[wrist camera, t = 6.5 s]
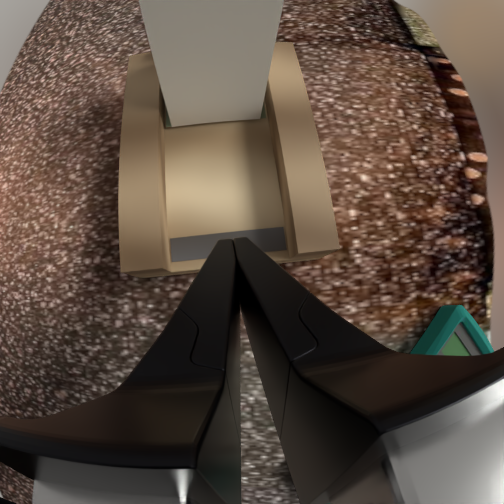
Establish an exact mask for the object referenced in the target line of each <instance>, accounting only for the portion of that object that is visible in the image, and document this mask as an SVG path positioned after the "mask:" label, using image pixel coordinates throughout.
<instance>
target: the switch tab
mask: <svg viewBox="0 0 504 504" xmlns="http://www.w3.org/2000/svg"><path fill="white" fill-rule="evenodd" d="M283 2H284V0H139V3H140V7H141V12H142V16H143V20H144V24H145V28H146V32H147V36H148V40H149V44H150V48H151V52H152V56H153V60H154V63H155V67H156V71H157V75H158V78H159V82H160V86H161V90H162V93H163V97H164V100H165V104H166V108H167V111H168V115H169V118H170V122H171V125H172V127H176V126H184V125H192V124H202V123H212V122H223V121H236V120H251V119H260V117H261V112H262V107H263V102H264V96H265V91H266V86H267V81H268V76H269V71H270V66H271V61H272V56H273V51H274V46H275V41H276V36H277V31H278V26H279V22H280V17H281V12H282V7H283Z"/></svg>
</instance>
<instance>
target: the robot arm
mask: <svg viewBox="0 0 504 504" xmlns="http://www.w3.org/2000/svg"><path fill="white" fill-rule="evenodd" d="M240 308H241V313H242V317H243V320H244V324H245V327H246V330H247V334H248V337H249V341H250V344H251V348H252V351H253V354H254V358H255V361H256V365H257V368H258V371H259V375H260V378H261V381H262V385H263V388H264V391H265V394H266V398H267V401H268V404H269V408H270V411H271V414H272V417H273V420H274V424H275V427H276V430H277V433H278V436H279V439H280V443H281V446H282V449H283V452H284V455H285V458H286V461H287V465H288V468H289V471H290V474H291V477H292V480H293V483H294V486H295V489H296V492H297V495H298V498H299V501H300V504H328V503H330V504H504V347H503V348H501V349H499V350H497V351H495V352H492V353H488V354H483V355H473V356H452V355H423V354H406V353H400V352H396V351H394V350H391V349H389V348H387V347H385V346H384V345H382V344H380V343H379V342H377V341H376V340H374V339H373V338H371V337H370V336H369V335H367V334H366V333H364V332H363V331H361V330H360V329H358V328H357V327H355V326H354V325H352V324H351V323H349V322H348V321H346V320H345V319H344V318H342V317H341V316H340V315H338V314H337V313H335V312H334V311H333V310H331V309H330V308H329V307H328V306H326V305H325V304H324V303H323V302H322V301H320V300H319V299H318V298H317V297H316V296H314V295H313V294H312V293H310V291H309V290H307V289H306V288H305V287H304V286H303V285H302V284H301V283H299V282H298V281H297V280H296V279H295V278H294V277H292V276H291V275H290V274H289V273H288V272H287V271H286V270H284V269H283V268H282V267H281V266H280V265H279V264H277V263H276V262H275V261H274V260H273V259H272V258H271V257H269V256H268V255H267V254H266V253H265V252H264V251H262V250H261V249H260V248H259V247H258V246H257V245H255V244H254V243H253V242H252V241H251V240H250V239H249V238H247V237H238V238H234V239H233V240H232V239H231V238H228V239H219V240H218V241H217V243H216V244H215V246H214V247H213V249H212V251H211V252H210V254H209V256H208V257H207V259H206V260H205V262H204V264H203V265H202V267H201V269H200V270H199V272H198V274H197V275H196V277H195V279H194V280H193V282H192V284H191V285H190V287H189V289H188V290H187V292H186V294H185V295H184V297H183V299H182V300H181V302H180V304H179V306H178V308H177V309H176V310H175V312H174V314H173V316H172V317H171V319H170V320H169V322H168V324H167V325H166V327H165V328H164V330H163V331H162V333H161V334H160V335H159V337H158V338H157V340H156V341H155V342H154V344H153V345H152V346H151V348H150V349H149V350H148V351H147V353H146V354H145V355H144V357H143V358H142V359H141V360H140V362H139V363H138V364H137V366H136V367H135V368H134V370H133V371H132V372H131V373H130V375H129V376H128V377H127V378H126V380H125V381H124V382H123V383H122V384H121V385H120V386H119V387H118V388H116V389H115V390H114V391H112V392H111V393H109V394H107V395H104V396H102V397H99V398H97V399H94V400H91V401H89V402H86V403H83V404H81V405H78V406H75V407H73V408H70V409H67V410H64V411H62V412H59V413H56V414H53V415H50V416H46V417H42V418H37V419H18V418H13V417H8V416H0V461H1V462H2V463H4V464H5V465H7V466H9V467H10V468H12V469H14V470H16V471H17V472H19V473H21V474H23V475H25V476H26V477H28V478H30V479H32V480H34V486H33V499H32V504H241V447H240V446H241V423H240ZM0 504H16V503H14V502H11V501H8V500H6V499H3V498H1V497H0Z"/></svg>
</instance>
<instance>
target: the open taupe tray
mask: <svg viewBox="0 0 504 504" xmlns="http://www.w3.org/2000/svg"><path fill="white" fill-rule="evenodd" d="M118 213H119V250H120V268H121V273H125V274H128V275H132V276H135V277H139V278H148V277H158V276H168V275H178V274H188V273H197V272H199V270H200V269H201V267H202V265H203V264H204V262H205V260H206V259H207V257H208V256H209V254H210V252H211V251H212V249H213V247H214V246H215V244H216V243H217V241H218V240H219V239H228V238H231V239H232V240H233V239H234V238H238V237H247V238H249V239H250V240H251V241H252V242H253V243H254V244H255V245H257V246H258V247H259V248H260V249H261V250H262V251H264V252H265V253H266V254H267V255H268V256H269V257H271V258H272V259H273V260H274V261H275V262H276V263H277V264H280V263H288V262H297V261H306V260H314V259H320V258H322V257H324V256H326V255H328V254H330V253H332V252H334V251H336V250H338V249H340V246H339V240H338V234H337V228H336V222H335V216H334V211H333V205H332V200H331V195H330V190H329V185H328V180H327V175H326V170H325V165H324V161H323V156H322V151H321V147H320V143H319V138H318V134H317V130H316V126H315V122H314V118H313V114H312V110H311V106H310V102H309V98H308V94H307V91H306V87H305V83H304V80H303V76H302V73H301V69H300V66H299V62H298V59H297V56H296V52H295V49H294V46H293V43H289V42H275V46H274V51H273V56H272V61H271V66H270V71H269V76H268V81H267V86H266V91H265V96H264V102H263V107H262V112H261V117H260V119H251V120H236V121H223V122H212V123H202V124H192V125H184V126H176V127H172V125H171V122H170V118H169V115H168V111H167V108H166V104H165V100H164V97H163V93H162V90H161V86H160V82H159V78H158V75H157V71H156V67H155V63H154V60H153V56H152V52H148V53H142V54H137V55H132V56H130V57H129V64H128V71H127V78H126V86H125V94H124V104H123V114H122V125H121V139H120V157H119V194H118Z"/></svg>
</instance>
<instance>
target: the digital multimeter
mask: <svg viewBox="0 0 504 504" xmlns="http://www.w3.org/2000/svg"><path fill="white" fill-rule="evenodd" d="M492 352H494V350H493V348H492V346H491V344H490V342H489V341H488V339H487V337H486V336H485V334H484V333H483V331H482V329H481V328H480V327H479V325H478V324H477V323H476V321H475V320H474V319H473V318H472V316H471V315H470V314H469V313H468V312H467V310H466V309H465V308H464V307H463V306H462V305H445V306H442V307H441V308H440V309H439V311H438V312H437V314H436V316H435V317H434V319H433V320H432V322H431V323H430V325H429V326H428V328H427V329H426V331H425V332H424V334H423V335H422V337H421V338H420V340H419V341H418V343H417V344H416V345H415V347H414V348H413V350H412V351H411V352H410V354H423V355H452V356H473V355H483V354H488V353H492ZM328 504H330V503H328Z"/></svg>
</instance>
